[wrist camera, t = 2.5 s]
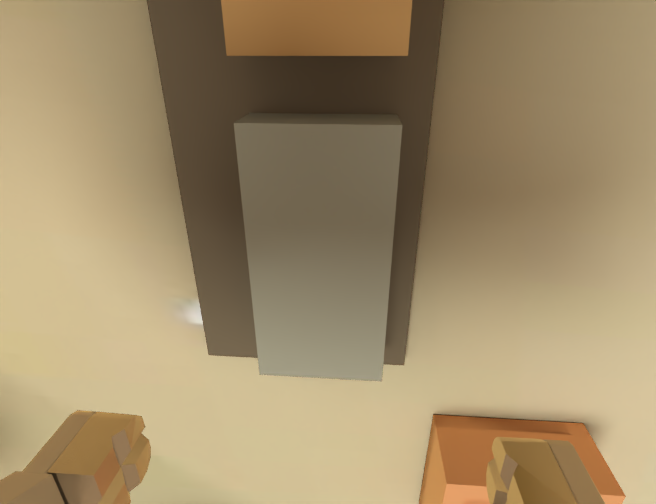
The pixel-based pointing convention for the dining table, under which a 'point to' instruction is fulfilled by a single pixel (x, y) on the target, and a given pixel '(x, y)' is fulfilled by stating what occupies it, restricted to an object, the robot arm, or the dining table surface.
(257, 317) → the slate board
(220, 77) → the mat
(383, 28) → the oak board
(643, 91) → the dining table surface
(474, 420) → the orange frame
